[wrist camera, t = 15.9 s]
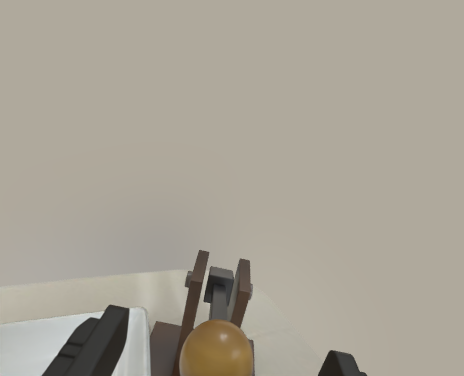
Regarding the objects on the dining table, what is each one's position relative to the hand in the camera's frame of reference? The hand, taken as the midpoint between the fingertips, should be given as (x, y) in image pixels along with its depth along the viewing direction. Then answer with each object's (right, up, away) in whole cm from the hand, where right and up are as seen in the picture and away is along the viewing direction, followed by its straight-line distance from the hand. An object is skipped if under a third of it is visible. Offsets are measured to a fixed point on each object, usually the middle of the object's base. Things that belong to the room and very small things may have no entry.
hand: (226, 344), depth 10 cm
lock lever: (-1, -4, +8) cm, 9 cm away
